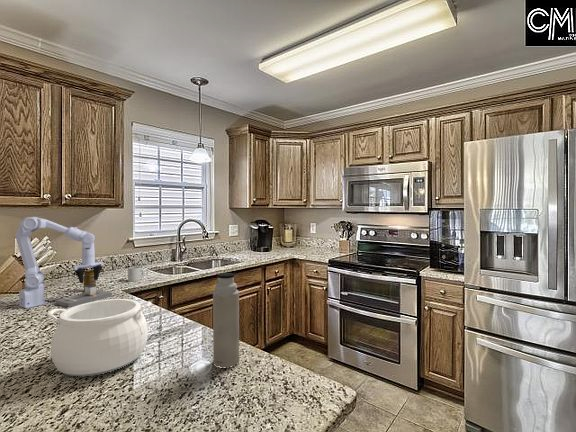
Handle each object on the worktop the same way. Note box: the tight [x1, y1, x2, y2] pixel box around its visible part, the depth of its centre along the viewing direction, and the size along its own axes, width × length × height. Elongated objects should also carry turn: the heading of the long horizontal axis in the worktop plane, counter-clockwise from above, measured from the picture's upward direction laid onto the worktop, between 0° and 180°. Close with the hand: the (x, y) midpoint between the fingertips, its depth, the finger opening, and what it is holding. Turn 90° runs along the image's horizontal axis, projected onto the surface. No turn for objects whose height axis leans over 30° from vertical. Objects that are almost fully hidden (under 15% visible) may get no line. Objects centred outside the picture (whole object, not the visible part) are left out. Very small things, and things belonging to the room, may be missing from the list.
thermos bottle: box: [212, 272, 240, 367], centre depth 99 cm, size 8×8×28 cm
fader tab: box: [83, 284, 97, 295], centre depth 169 cm, size 3×5×5 cm, turn 62°
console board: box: [54, 289, 113, 308], centre depth 167 cm, size 22×12×2 cm, turn 152°
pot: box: [46, 298, 152, 378], centre depth 101 cm, size 29×26×17 cm
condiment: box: [81, 269, 98, 294], centre depth 184 cm, size 7×8×12 cm
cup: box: [127, 266, 145, 283], centre depth 211 cm, size 7×10×9 cm
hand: (88, 281), depth 169 cm, fingers open, 7 cm apart
